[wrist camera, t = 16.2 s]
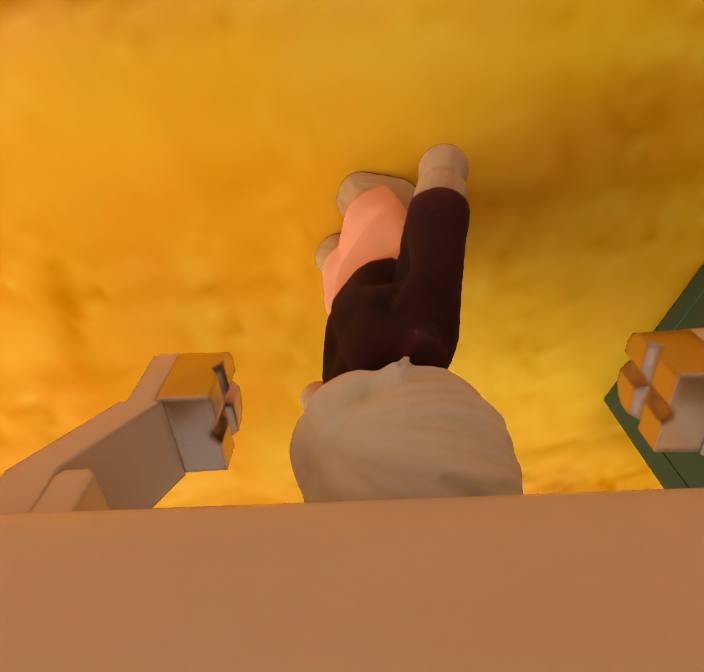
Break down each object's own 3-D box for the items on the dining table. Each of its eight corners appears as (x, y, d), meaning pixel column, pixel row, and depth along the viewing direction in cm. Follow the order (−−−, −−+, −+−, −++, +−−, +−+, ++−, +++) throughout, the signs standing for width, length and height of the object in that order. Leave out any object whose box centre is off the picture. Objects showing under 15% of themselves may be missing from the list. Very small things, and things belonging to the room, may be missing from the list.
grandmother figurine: (398, 327, 19) (473, 717, 9) (297, 310, 19) (244, 701, 8) (463, 113, 15) (751, 344, 5) (338, 84, 15) (341, 267, 4)
